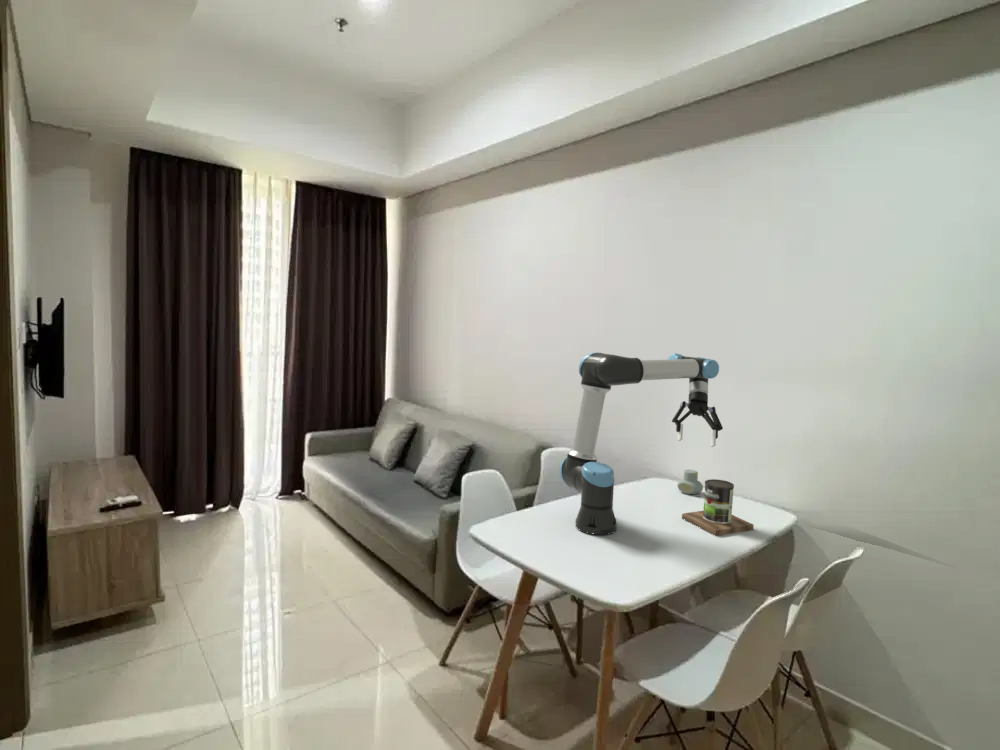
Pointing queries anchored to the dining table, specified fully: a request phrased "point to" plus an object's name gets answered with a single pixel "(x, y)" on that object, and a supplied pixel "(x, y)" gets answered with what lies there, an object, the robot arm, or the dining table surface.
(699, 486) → the air freshener
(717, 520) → the coffee can
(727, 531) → the walnut board
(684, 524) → the dining table surface
